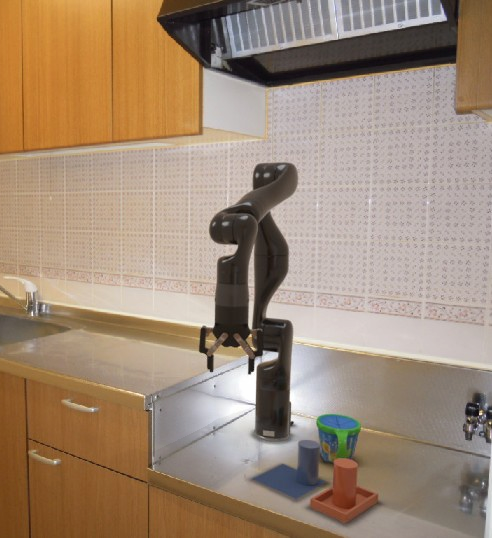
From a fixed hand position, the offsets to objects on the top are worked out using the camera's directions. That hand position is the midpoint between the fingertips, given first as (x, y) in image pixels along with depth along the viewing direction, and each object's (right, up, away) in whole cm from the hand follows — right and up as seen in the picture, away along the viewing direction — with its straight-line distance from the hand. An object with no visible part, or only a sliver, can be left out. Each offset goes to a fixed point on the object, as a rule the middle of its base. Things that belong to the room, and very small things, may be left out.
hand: (230, 372), depth 130 cm
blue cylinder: (+18, -26, +3) cm, 32 cm away
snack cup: (+29, -25, +14) cm, 41 cm away
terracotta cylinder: (+23, -27, -8) cm, 36 cm away
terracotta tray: (+23, -27, -8) cm, 36 cm away
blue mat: (+14, -26, +3) cm, 30 cm away
